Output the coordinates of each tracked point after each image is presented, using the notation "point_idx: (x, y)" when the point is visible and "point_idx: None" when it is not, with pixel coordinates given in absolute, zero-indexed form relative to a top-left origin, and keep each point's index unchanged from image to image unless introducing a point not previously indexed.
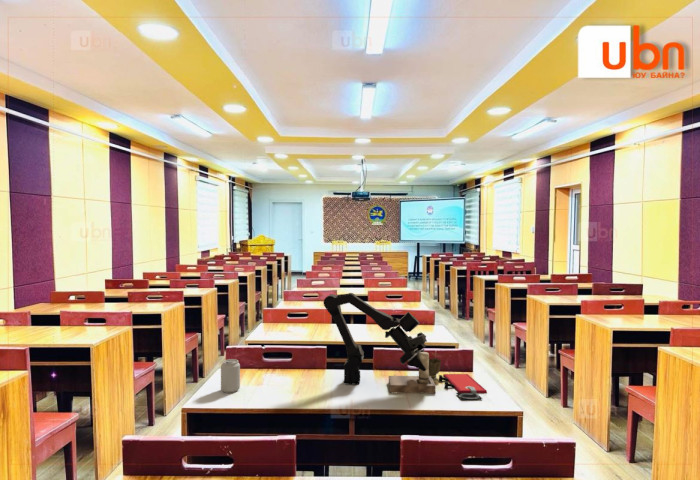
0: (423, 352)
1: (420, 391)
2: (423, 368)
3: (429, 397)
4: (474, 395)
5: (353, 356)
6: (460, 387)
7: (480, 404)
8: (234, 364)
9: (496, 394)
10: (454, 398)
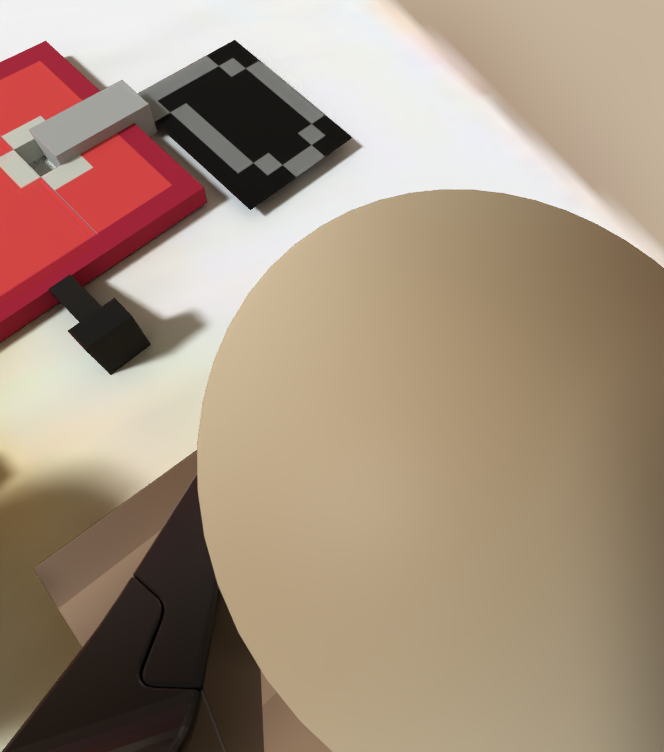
0: (365, 581)
1: None
2: None
3: None
4: (206, 92)
5: None
6: (96, 213)
7: (324, 45)
8: None
9: (47, 7)
10: (343, 198)
